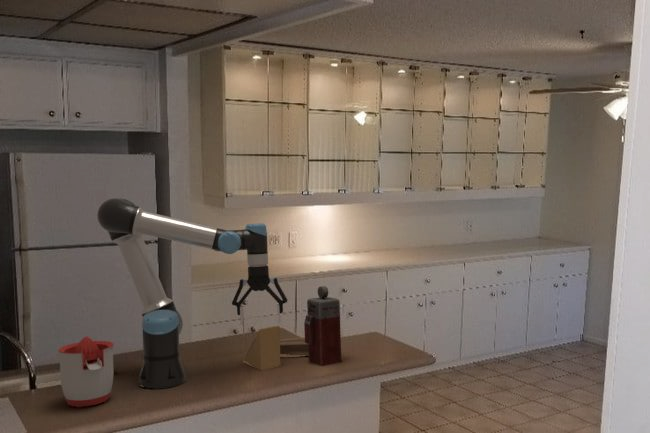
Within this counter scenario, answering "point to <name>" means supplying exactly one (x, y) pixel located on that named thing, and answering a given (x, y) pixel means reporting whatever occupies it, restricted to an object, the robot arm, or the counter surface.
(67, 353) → the citrus juicer
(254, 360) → the sandwich container
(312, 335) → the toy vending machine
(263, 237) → the robot arm
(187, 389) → the counter surface
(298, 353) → the walnut stand
